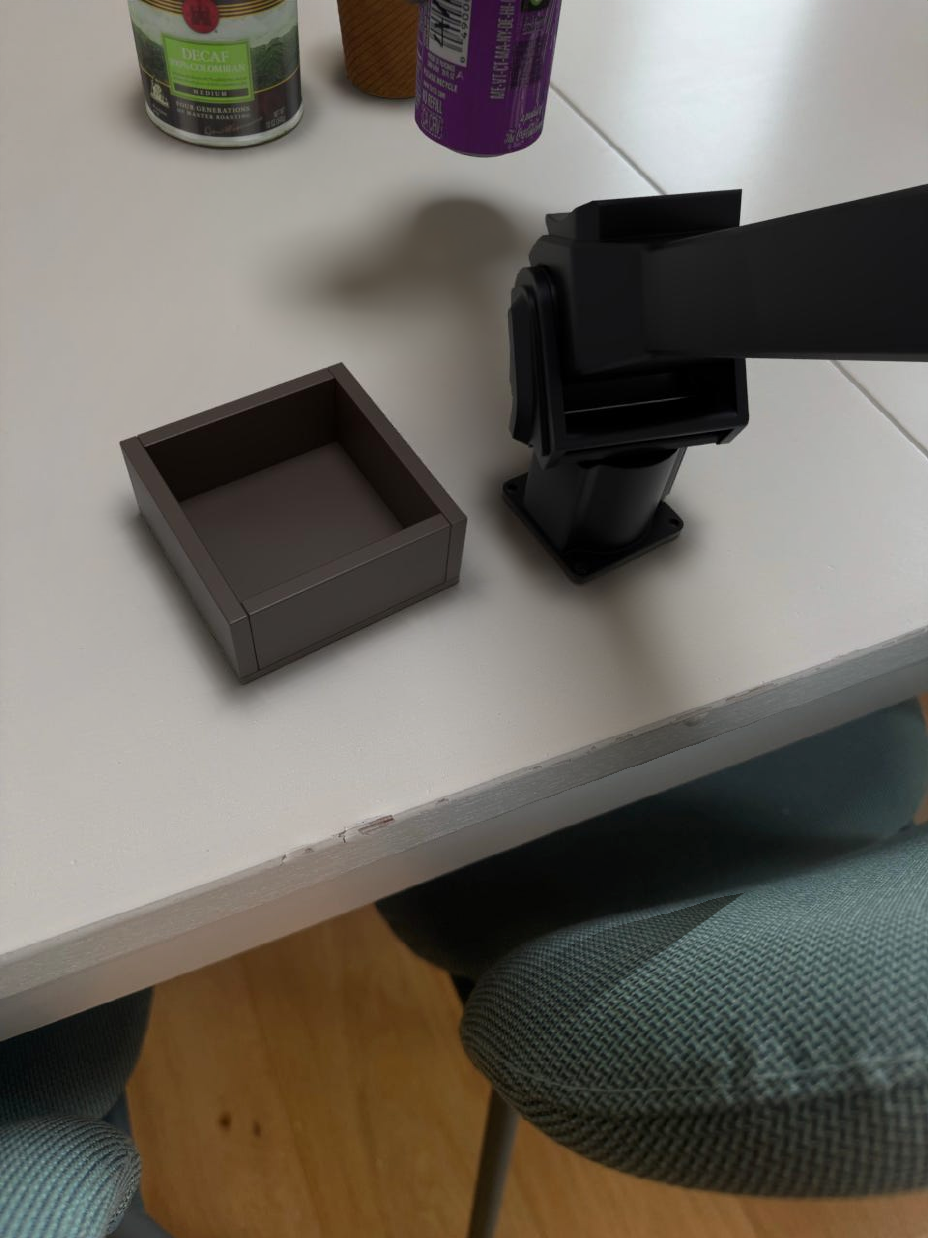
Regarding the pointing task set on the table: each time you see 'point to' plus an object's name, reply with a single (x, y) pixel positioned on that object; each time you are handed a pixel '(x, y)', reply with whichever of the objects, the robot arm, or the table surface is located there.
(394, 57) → the disposable coffee cup
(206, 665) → the table surface
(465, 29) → the beverage can
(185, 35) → the coffee can
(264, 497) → the open box
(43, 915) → the table surface
